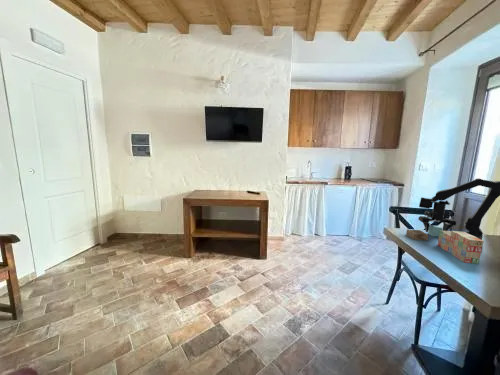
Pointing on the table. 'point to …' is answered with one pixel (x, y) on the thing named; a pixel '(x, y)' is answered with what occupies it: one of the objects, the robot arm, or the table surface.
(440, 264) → the table surface
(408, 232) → the walnut base block
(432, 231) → the teal block
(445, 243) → the stack of blocks
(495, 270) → the table surface
